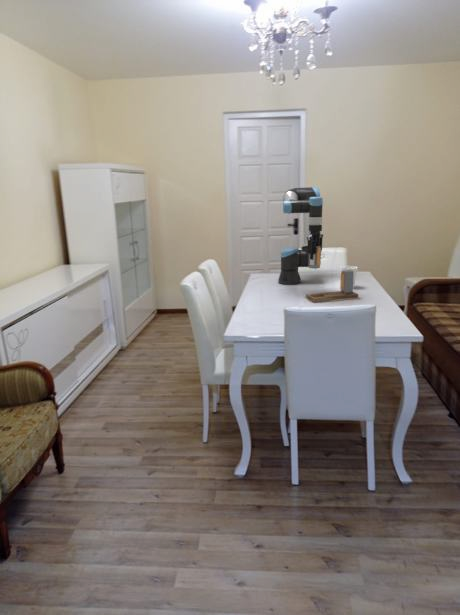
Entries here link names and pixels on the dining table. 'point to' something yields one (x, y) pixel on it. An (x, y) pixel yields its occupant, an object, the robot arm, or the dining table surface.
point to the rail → (330, 296)
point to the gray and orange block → (316, 258)
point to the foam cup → (352, 268)
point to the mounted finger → (347, 282)
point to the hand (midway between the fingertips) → (314, 264)
